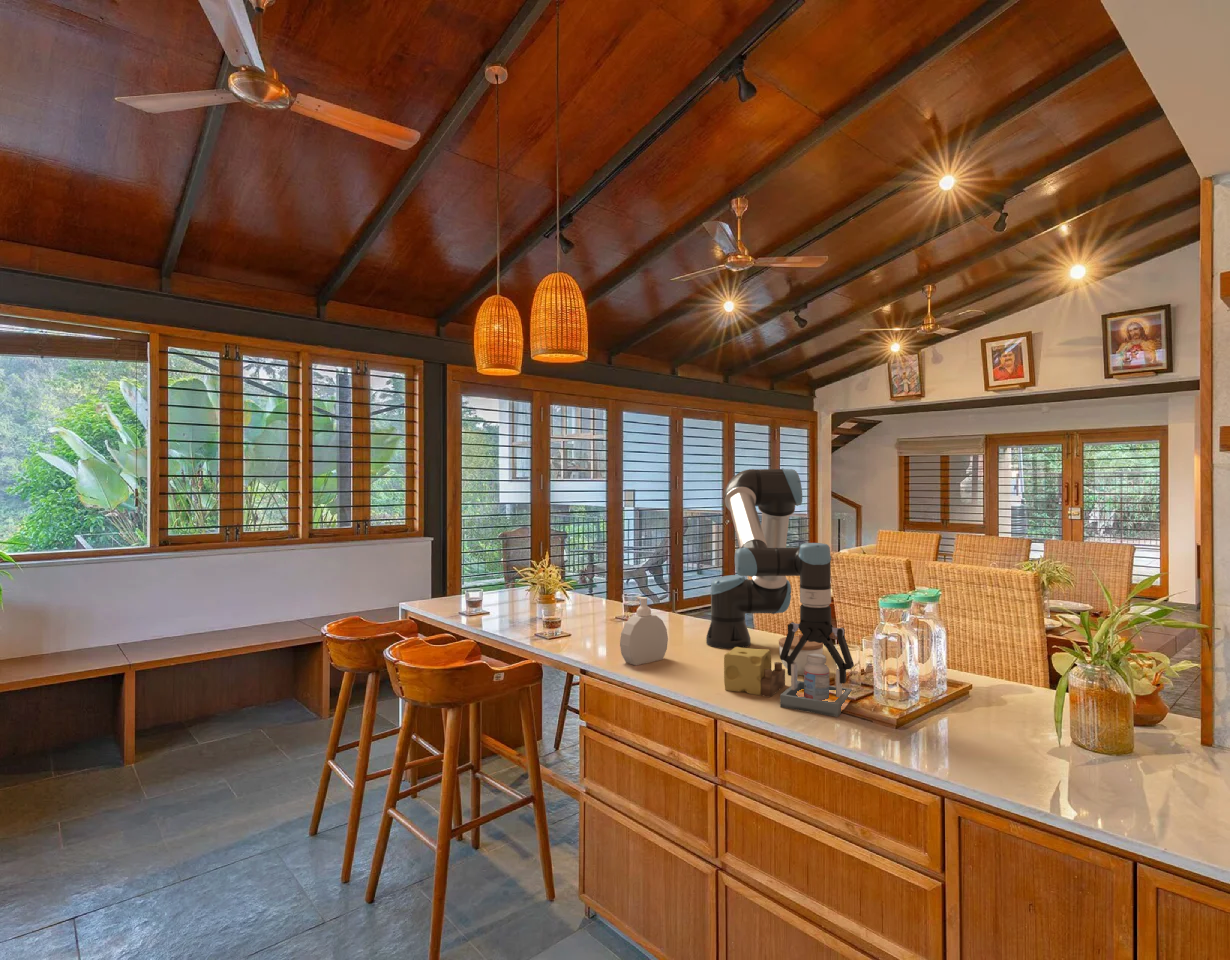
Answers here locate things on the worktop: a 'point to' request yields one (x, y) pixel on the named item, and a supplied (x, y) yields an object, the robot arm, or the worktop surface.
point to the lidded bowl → (801, 652)
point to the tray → (812, 701)
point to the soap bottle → (643, 637)
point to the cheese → (745, 669)
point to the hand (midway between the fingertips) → (816, 692)
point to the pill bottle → (816, 677)
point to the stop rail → (772, 680)
